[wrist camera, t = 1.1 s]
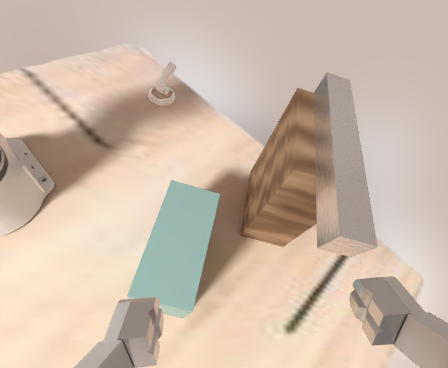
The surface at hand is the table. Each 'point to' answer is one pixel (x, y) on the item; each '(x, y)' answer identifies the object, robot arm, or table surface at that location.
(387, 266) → the table surface
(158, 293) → the mint green rectangular block
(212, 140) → the table surface
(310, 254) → the table surface
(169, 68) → the hook
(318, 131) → the rail
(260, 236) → the stand
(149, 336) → the robot arm
